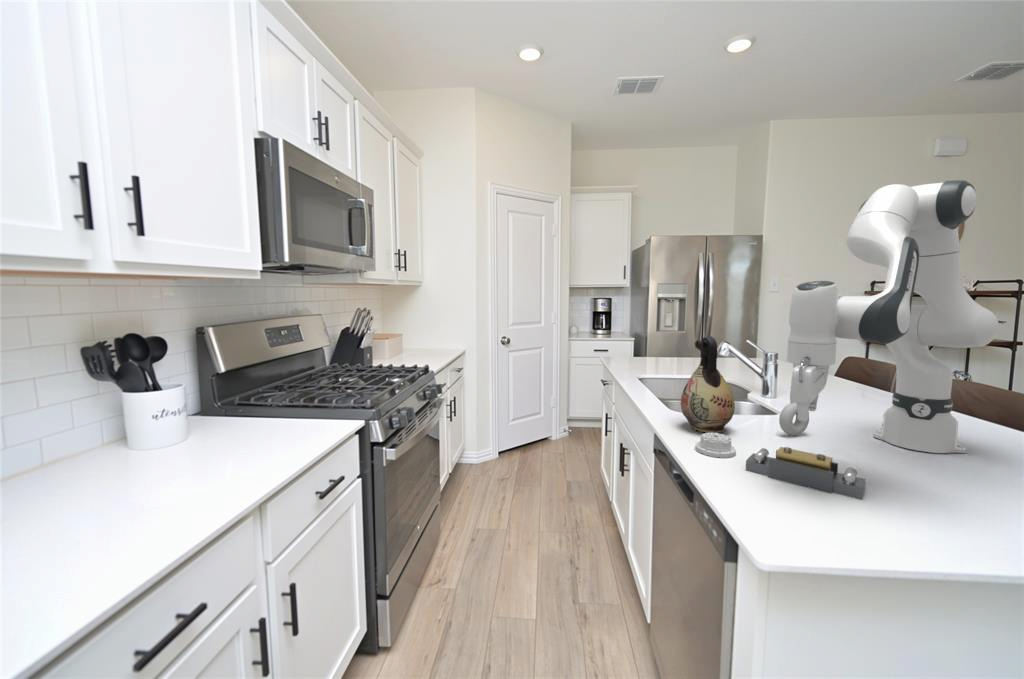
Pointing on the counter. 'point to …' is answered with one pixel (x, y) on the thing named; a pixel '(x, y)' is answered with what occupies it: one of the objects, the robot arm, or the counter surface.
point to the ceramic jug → (707, 393)
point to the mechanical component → (715, 445)
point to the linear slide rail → (808, 475)
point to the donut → (787, 419)
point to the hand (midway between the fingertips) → (807, 415)
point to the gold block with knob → (805, 458)
